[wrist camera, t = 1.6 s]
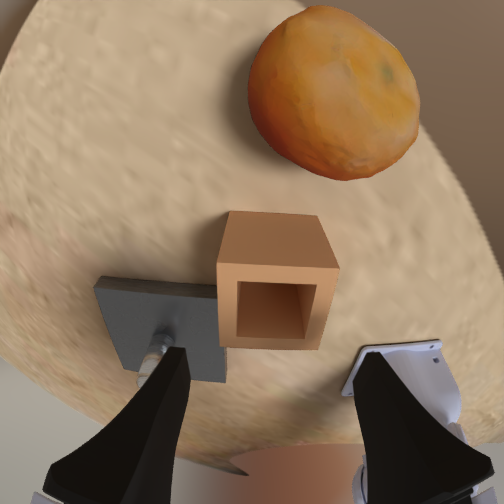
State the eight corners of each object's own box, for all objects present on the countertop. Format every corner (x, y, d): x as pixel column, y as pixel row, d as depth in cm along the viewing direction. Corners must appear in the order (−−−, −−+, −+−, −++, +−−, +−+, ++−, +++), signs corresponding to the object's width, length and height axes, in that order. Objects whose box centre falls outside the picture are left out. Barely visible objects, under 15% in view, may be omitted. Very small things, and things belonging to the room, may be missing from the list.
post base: (225, 286, 20) (213, 356, 15) (227, 370, 25) (220, 430, 20) (101, 276, 20) (62, 332, 15) (128, 357, 25) (108, 410, 20)
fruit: (186, 90, 13) (249, 3, 5) (290, 40, 14) (379, -17, 7) (272, 209, 16) (384, 225, 9) (353, 140, 17) (457, 129, 10)
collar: (317, 216, 17) (340, 268, 12) (305, 286, 20) (317, 350, 15) (229, 210, 17) (216, 262, 12) (229, 283, 20) (219, 346, 15)
